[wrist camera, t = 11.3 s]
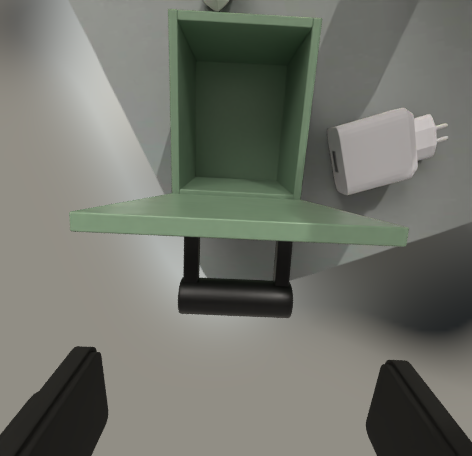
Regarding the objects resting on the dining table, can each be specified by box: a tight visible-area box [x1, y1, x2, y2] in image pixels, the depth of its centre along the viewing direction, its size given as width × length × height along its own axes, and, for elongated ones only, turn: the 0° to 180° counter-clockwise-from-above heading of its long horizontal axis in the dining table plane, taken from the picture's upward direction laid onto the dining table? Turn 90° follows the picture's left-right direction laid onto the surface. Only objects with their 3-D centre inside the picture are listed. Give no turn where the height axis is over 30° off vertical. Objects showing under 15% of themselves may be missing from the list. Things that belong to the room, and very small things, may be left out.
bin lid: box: [69, 194, 409, 318], centre depth 20 cm, size 18×14×5 cm
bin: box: [168, 9, 322, 200], centre depth 32 cm, size 17×14×13 cm
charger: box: [327, 108, 448, 195], centre depth 37 cm, size 5×9×15 cm
